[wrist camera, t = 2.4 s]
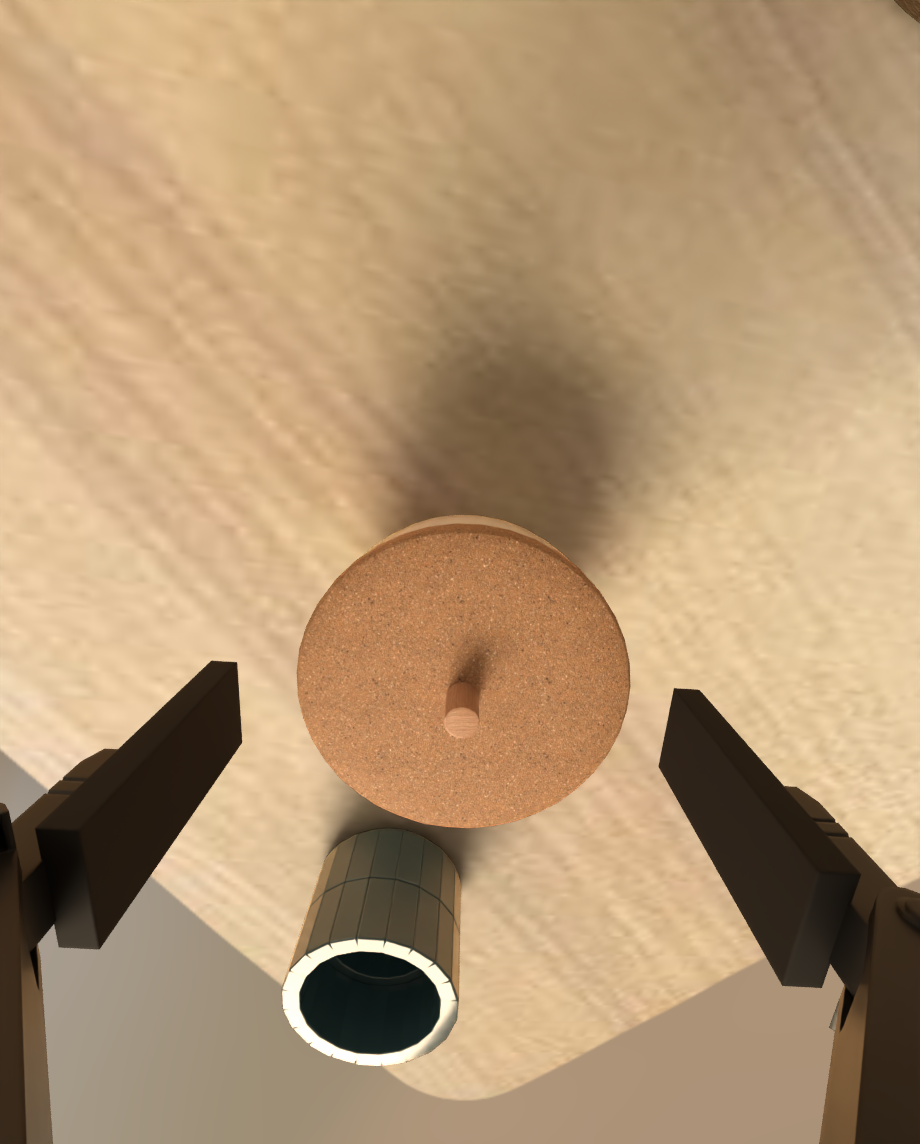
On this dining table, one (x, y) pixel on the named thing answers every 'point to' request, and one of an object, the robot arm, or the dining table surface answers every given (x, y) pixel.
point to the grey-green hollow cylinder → (378, 951)
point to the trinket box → (463, 674)
